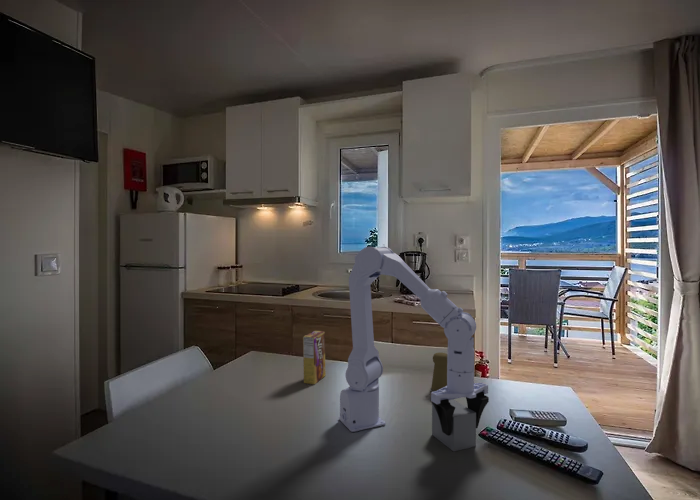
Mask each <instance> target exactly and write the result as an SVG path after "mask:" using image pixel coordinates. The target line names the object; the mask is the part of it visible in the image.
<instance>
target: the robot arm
mask: <svg viewBox="0 0 700 500" xmlns="http://www.w3.org/2000/svg"><path fill="white" fill-rule="evenodd" d="M349 273H350V274H349V277H348V290H349V292H348V293H349V304H350V305H349V306H350V322H351V338H352V340H351V341H352V349H351V352H350V354H349V356H348V358H347V367H346V371H345V380H346V383H347V384H348V387H347V388H344V389H342V390H341V391H340V393H339V394H340V395H339V417H338V420H339V421H340V422H341V423H342V424H343V425H344V426H345V427H346V428H347V429H348V431H350V432H352V433H354V432H358V431H362V430H363V431H364V430H368V429H372V428H376V427H380V426H385V425H386V424H387V423H386V421H385V420H384V419H382V418H381V417H380V383H379V380H380V379H379V378H380V377H382V375H383V372H384V366H383V363H382V361H381V358H380V355H379V354H380V353H379V351H378V349H377V348H376V347H375V346H376V345H375V339H374V323H373V322H374V321H373V306H372V305H373V304H372V292H371V291H372V290H371V289H372V288H371V287H372V285H371V284H372V283H374V281H375V280H376V279H378V277H379V276H381V275H383V276H389V277H390V276H391V277H395V278H396V280H399V282H400V283H401V284H403V286H405V287H406V288H407V289H408V290H409V291H411V292H412V293H413V294H414V295H415V296H416V297H418V299H419V300H420V308H422V309H423V310H424V311H425V313H427V314H428V315H429V316H430V317H431V318H432V320H434V321H435V322H436V323H437V324H438V325H439V326H440V327H441V328H443V333H444V335H445V337H446V339H447V348H446V349H447V353H446V354H447V386H445V387H443V388H441V389H439V390H437V391H434V390H433V391H432V392H430V394H431V395H430V401H431V405H432V404H433V405H434V407H435V409H436V412H437V414H438V417H439V420H440V424H441V428H442V432H443V433H445V434H446V435H448V436H449V435H451V431H452V418H453V413H454V410H455V407H454V406H452V405H450V402H449V400H452V399H454V400H456V399H461V398H465V399H466V405H467V406H466V407H467V408H469V409H471V410H472V411H474V412H476V429H478V427H479V424H480V421H481V416H482V415H483V412H484V410H485V408H486V406H487V405H488V403H489V402H490V398H489V396H487V395H488V394H489V384H488V383H487V384H486V383H484V382H475V348H474V345H475V341H474V340H475V338H474V336H473V335H474V334H475V333H476V330H477V323H476V320H475V318H474V317H473V316H472V315H471V314H470V313H469V312H464V309H463V308H462V307H461V306H460V307H458V306H457V305H456V304H455V303H454V302H453V301H452V300H450V298H448V293H447V292H446V291H445V290H442V291H441V290H440V289H438V288H434V289H433V288H430V287H429V286H428V285H427V284H426V283H425V282H424V281H423V280H422V279H421V278H420V276H419V275H418V274H417V273H415V271H414V270H413V269H412V268H411V267H410V266H409V265H408V264H407V263H406V262H405V261H404V260H403V259H402V257H401V256H399V255H398V254H397V253H395V252H394V251H393V250H392V249H391V248H390V247H388V246H379V247H376V246H375V247H374V246H366V247H364V248H362V249H361V250H360V251H359V252H358V253H357V254H356V255H355V256H354V264H353V266H352V269H351V271H350V272H349Z"/></svg>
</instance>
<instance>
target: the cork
mask: <svg viewBox="0 0 700 500" xmlns="http://www.w3.org/2000/svg"><path fill="white" fill-rule="evenodd" d="M432 362H433V365H434V366H433V371H432V372H433V374H432V378H431V379H432V380H431V386H430V389H431V390H432V391H433V392H434V391H437V390H439V389H441V388H443V387H445V386H447V353H446V352H435V353H434V354H433V356H432Z"/></svg>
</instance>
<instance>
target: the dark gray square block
mask: <svg viewBox="0 0 700 500" xmlns="http://www.w3.org/2000/svg"><path fill="white" fill-rule="evenodd" d="M449 402H450V405H452V406H454V407H455V410H454V413H453V418H452V431H451V435H449V436H448V435H446V434H445V433H443V432H442V428H441V424H440V420H439V417H438V414H437V412H436V409H435V407H434V405H433V404H432V403H431V416H432V417H431V435H432V436H433V437H435V438H436V439H437V440H438V441H439V442H441V443H442V444H443V445H444V446H446V447H447V448H448V449H450V450H451V451H453V452H457V451H461V450H465V449H469V448H474V447H477V428H476V412H474V411H472V410H471V409H469V408H468V406H465V404H462V403H461V402H459V401H457V400H456V399H452V400H449Z"/></svg>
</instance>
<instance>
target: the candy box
mask: <svg viewBox="0 0 700 500" xmlns="http://www.w3.org/2000/svg"><path fill="white" fill-rule="evenodd" d="M325 334H326V332H325V331H323V330H313V331H312V332H310V333H307V334H305V335H304V336H302V344H303V347H302V349H303V350H302V351H303V353H302V354H303V359H302V360H303V383H304V384H309V385H316V384H317V383H319V382H320V381H321V380H322V379H323V378H325V376H326V372H327V371H326V342H325V341H326V339H325Z"/></svg>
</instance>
